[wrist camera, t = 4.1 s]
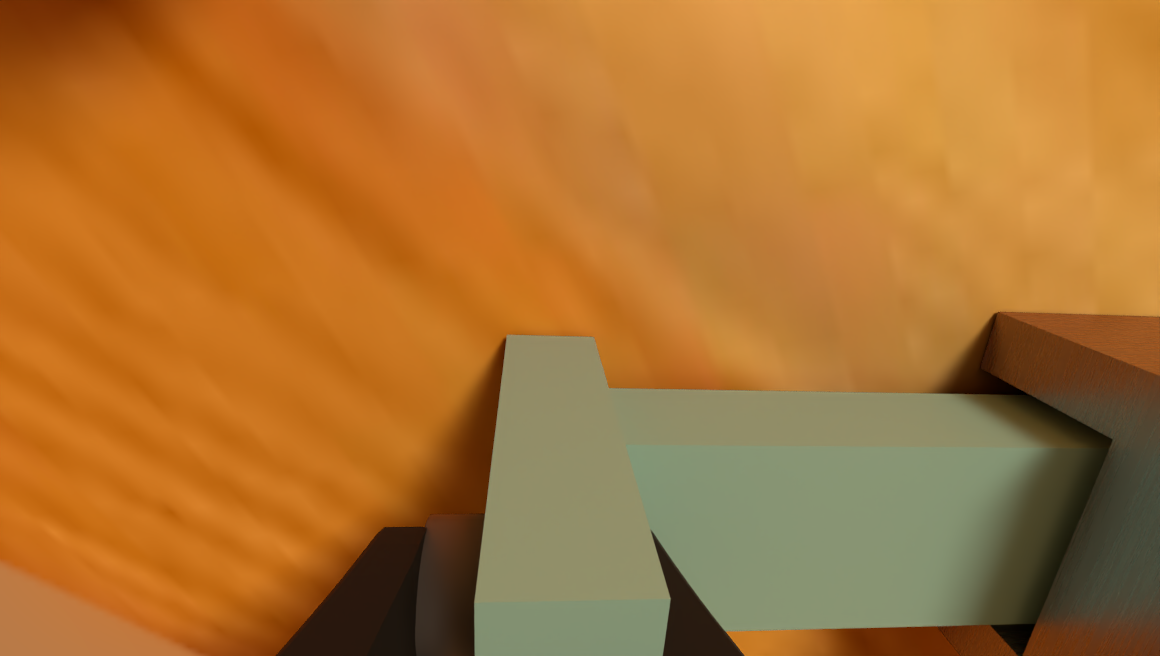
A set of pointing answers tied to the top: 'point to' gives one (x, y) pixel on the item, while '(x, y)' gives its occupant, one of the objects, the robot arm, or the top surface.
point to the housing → (1119, 496)
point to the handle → (747, 511)
